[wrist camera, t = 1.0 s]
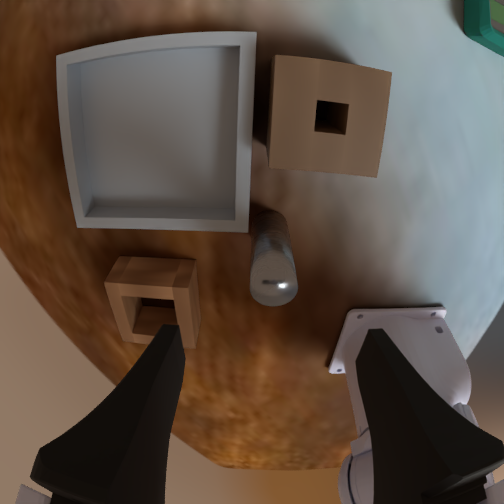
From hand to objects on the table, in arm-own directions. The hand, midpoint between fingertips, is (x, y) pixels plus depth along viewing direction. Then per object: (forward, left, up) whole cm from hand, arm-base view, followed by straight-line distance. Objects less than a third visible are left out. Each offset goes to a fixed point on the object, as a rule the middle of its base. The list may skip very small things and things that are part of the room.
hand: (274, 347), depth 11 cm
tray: (+6, -6, -9) cm, 13 cm away
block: (-2, -8, -9) cm, 12 cm away
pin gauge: (0, 0, -9) cm, 9 cm away
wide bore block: (+7, +5, -9) cm, 13 cm away
